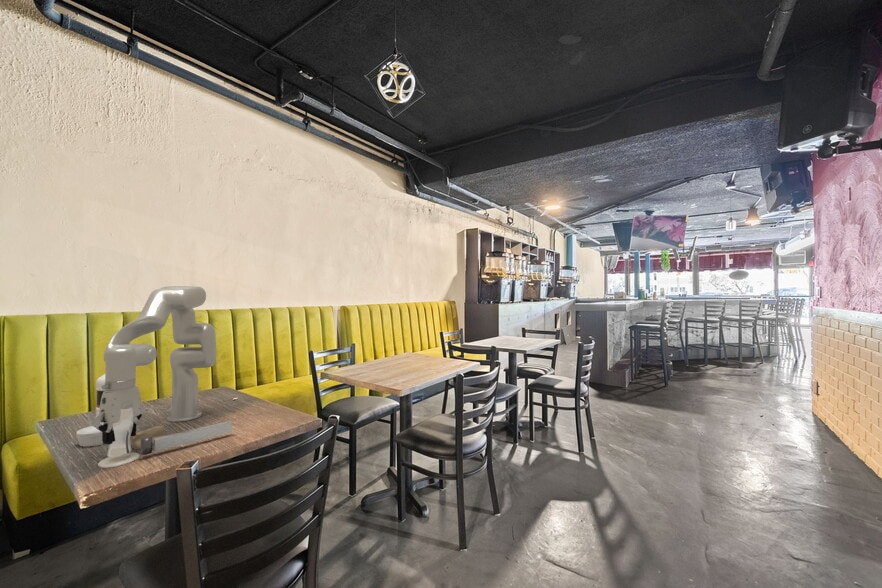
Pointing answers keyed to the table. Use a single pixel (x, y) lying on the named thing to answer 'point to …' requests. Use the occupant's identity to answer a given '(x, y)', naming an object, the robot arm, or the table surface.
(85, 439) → the ramekin
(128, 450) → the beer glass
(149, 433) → the block
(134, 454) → the white disc
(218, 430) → the bar
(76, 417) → the table surface
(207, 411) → the table surface
